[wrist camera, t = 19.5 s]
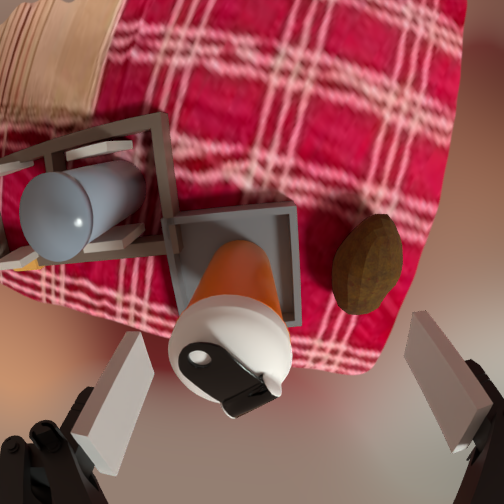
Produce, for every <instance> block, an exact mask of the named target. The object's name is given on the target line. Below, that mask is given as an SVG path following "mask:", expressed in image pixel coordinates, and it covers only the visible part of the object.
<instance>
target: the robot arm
mask: <svg viewBox="0 0 504 504" xmlns="http://www.w3.org/2000/svg"><path fill="white" fill-rule="evenodd" d="M404 358H405V359H406V361H407V363H408V365H409V367H410V369H411V371H412V372H413V374H414V376H415V378H416V380H417V382H418V384H419V386H420V388H421V390H422V392H423V394H424V396H425V398H426V400H427V402H428V404H429V406H430V408H431V410H432V412H433V414H434V416H435V418H436V420H437V422H438V424H439V426H440V428H441V430H442V433H443V434H444V437H445V439H446V441H447V443H448V446H449V448H450V450H451V452H452V453H455V452H458V451H461V450H463V449H466V448H468V446H469V445H470V443H471V441H472V440H473V441H474V443H475V445H476V446H475V447H474V449H473V450H472V452H471V454H470V455H469V457H468V458H467V461H468V460H469V459H470V461H469V464H468V467H467V470H466V473H465V475H464V478H463V480H462V483H461V486H460V488H459V491H458V493H457V496H456V498H455V500H454V502H453V504H504V398H503V397H502V395H501V394H500V393H499V391H498V390H497V388H496V387H495V386H494V384H493V383H492V381H490V378H489V377H488V376H487V375H486V374H485V372H484V370H483V369H482V368H481V366H480V365H479V364H477V363H476V362H474V361H473V360H471V359H470V360H466V361H464V360H463V359H462V357H461V356H460V355H459V353H458V352H457V350H456V349H455V348H454V346H453V345H452V344H451V342H450V341H449V339H448V338H447V337H446V335H445V334H444V333H443V332H442V331H441V329H440V328H439V326H438V325H437V324H436V322H435V321H434V320H433V319H432V317H431V316H430V315H429V314H428V313H427V311H426V310H425V311H418V312H413V313H412V319H411V324H410V330H409V335H408V340H407V345H406V349H405V354H404ZM153 376H154V371H153V368H152V365H151V362H150V359H149V356H148V353H147V350H146V347H145V344H144V341H143V338H142V335H141V332H126V334H125V336H124V337H123V339H122V340H121V342H120V344H119V346H118V348H117V349H116V351H115V353H114V354H113V356H112V358H111V359H110V361H109V363H108V365H107V366H106V368H105V370H104V371H103V373H102V375H101V377H100V379H99V381H98V382H97V384H96V386H95V387H87V388H85V389H84V390H83V391H82V392H81V393H80V394H79V395H78V397H77V399H76V401H75V404H73V406H72V407H71V410H70V411H69V413H68V415H67V417H66V418H65V420H64V422H63V424H62V426H61V427H60V429H59V428H58V427H57V425H56V424H55V423H54V422H52V421H50V420H43V421H40V422H38V423H36V424H35V425H34V426H33V427H32V428H31V430H30V433H29V437H30V439H31V440H32V441H33V444H32V443H30V444H27V443H26V442H25V441H24V439H23V438H22V437H20V436H11V437H8V438H7V439H6V440H5V441H4V442H3V444H2V446H1V452H0V504H108V502H107V500H106V498H105V496H104V494H103V492H102V490H101V488H100V486H99V484H98V482H97V479H96V477H95V476H94V474H93V473H92V471H93V468H94V466H96V468H97V469H98V470H99V471H100V473H104V474H108V475H113V476H117V473H118V471H119V468H120V465H121V462H122V460H123V457H124V454H125V451H126V448H127V446H128V443H129V440H130V437H131V434H132V432H133V429H134V426H135V423H136V421H137V418H138V415H139V413H140V410H141V407H142V405H143V402H144V399H145V397H146V394H147V392H148V389H149V387H150V384H151V381H152V379H153Z"/></svg>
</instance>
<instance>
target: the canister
mask: <svg viewBox="0 0 504 504" xmlns="http://www.w3.org/2000/svg"><path fill="white" fill-rule="evenodd" d="M145 195H146V183H145V180H144V177H143V175H142V173H141V171H140V170H139V169H138V168H137V167H136V166H135V165H134V164H132V163H130V162H128V161H124V160H116V161H111V162H105V163H100V164H95V165H90V166H85V167H80V168H76V169H71V170H66V171H62V172H60V171H52V172H47V173H43V174H40V175H38V176H36V177H35V178H33V179H32V180H31V181H30V182H29V183H28V185H27V186H26V188H25V190H24V192H23V194H22V197H21V201H20V208H19V215H20V223H21V227H22V231H23V233H24V236H25V238H26V240H27V241H28V243H29V244H30V246H31V247H32V248H33V249H34V250H35V252H37V253H38V254H39V255H40V256H42V257H43V258H45V259H47V260H50V261H55V262H62V261H66V260H69V259H71V258H73V257H74V256H75V255H77V254H78V253H79V252H81V251H82V250H83V249H84V248H85V246H86V245H87V244H88V243H90V242H91V241H93V240H94V239H96V238H97V237H99V236H100V235H102V234H103V233H104V232H106V231H107V230H109V229H110V228H112V227H114V226H115V225H117V224H118V223H120V222H121V221H123V220H124V219H126V218H127V217H129V216H130V215H132V214H134V213H135V212H136V211H137V210H138V209H139V208H140V207H141V205H142V204H143V202H144V199H145Z"/></svg>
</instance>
